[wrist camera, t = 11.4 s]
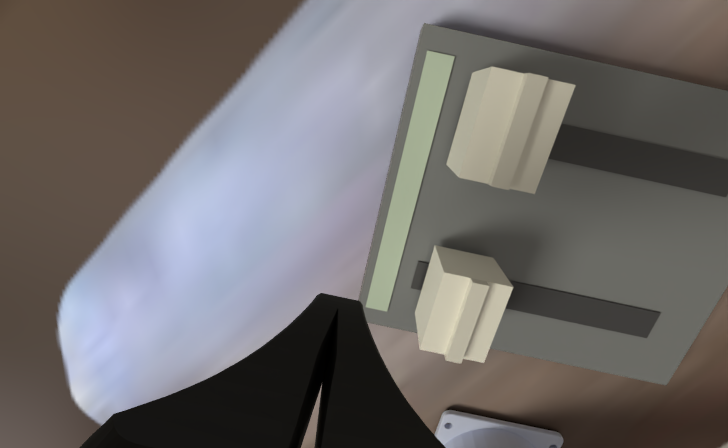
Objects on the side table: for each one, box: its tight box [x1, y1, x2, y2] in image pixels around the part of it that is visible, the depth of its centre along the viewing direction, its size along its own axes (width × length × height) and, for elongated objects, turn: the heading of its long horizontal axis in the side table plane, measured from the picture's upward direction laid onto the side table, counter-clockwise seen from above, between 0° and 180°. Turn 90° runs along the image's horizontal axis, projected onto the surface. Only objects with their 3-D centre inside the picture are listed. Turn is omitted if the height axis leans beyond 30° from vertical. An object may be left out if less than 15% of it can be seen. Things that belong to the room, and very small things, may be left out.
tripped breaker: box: [446, 67, 576, 194], centre depth 14 cm, size 4×3×3 cm
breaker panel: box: [358, 23, 728, 385], centre depth 19 cm, size 15×18×2 cm
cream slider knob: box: [415, 245, 513, 364], centre depth 17 cm, size 4×3×3 cm
